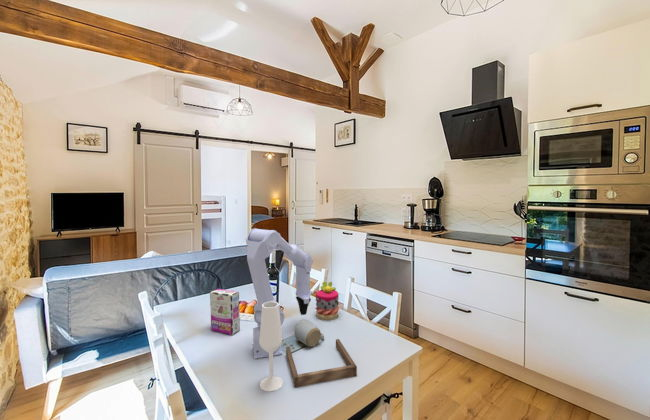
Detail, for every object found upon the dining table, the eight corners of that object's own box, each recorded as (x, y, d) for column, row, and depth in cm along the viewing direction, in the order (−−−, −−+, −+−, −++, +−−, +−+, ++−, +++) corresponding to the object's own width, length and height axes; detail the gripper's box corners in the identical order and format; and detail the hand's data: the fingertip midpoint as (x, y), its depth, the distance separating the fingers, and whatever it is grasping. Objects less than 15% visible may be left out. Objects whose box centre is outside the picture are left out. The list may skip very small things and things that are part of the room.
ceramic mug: (306, 351, 103) (307, 330, 102) (293, 342, 109) (293, 322, 108) (329, 341, 110) (329, 321, 109) (315, 333, 116) (315, 314, 115)
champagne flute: (283, 375, 89) (282, 299, 87) (282, 390, 82) (281, 308, 81) (261, 377, 88) (259, 300, 87) (258, 392, 82) (257, 310, 80)
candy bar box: (240, 330, 118) (239, 291, 117) (232, 336, 113) (231, 295, 112) (219, 325, 122) (218, 287, 121) (210, 330, 117) (209, 291, 116)
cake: (342, 318, 129) (342, 285, 128) (320, 322, 125) (320, 288, 124) (332, 309, 138) (333, 279, 137) (312, 313, 134) (312, 281, 133)
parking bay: (294, 387, 83) (294, 377, 83) (286, 355, 100) (286, 346, 100) (356, 375, 89) (356, 366, 89) (338, 346, 105) (338, 339, 105)
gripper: (316, 286, 112) (316, 320, 113) (308, 276, 126) (308, 306, 127) (299, 288, 110) (299, 322, 111) (292, 277, 124) (293, 308, 125)
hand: (303, 314), depth 119 cm, fingers closed
